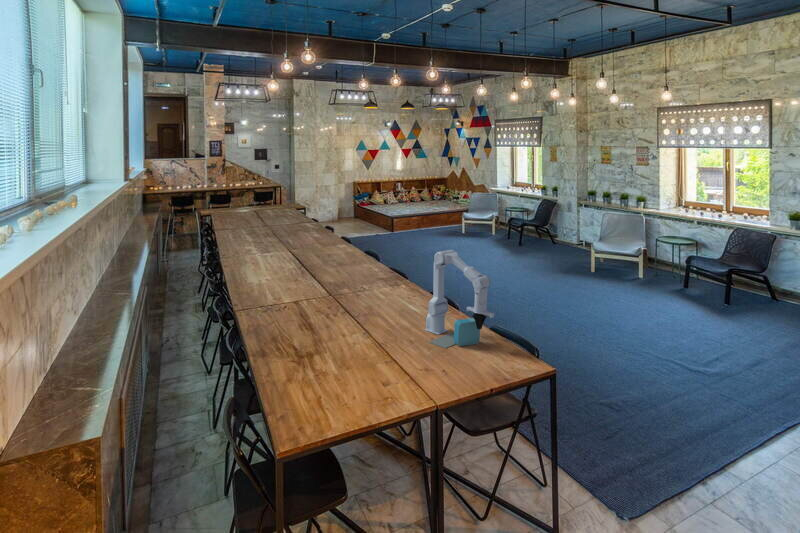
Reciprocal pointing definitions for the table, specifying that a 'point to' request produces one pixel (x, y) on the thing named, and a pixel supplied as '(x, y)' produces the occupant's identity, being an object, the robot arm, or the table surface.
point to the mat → (444, 341)
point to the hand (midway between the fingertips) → (479, 328)
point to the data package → (466, 332)
